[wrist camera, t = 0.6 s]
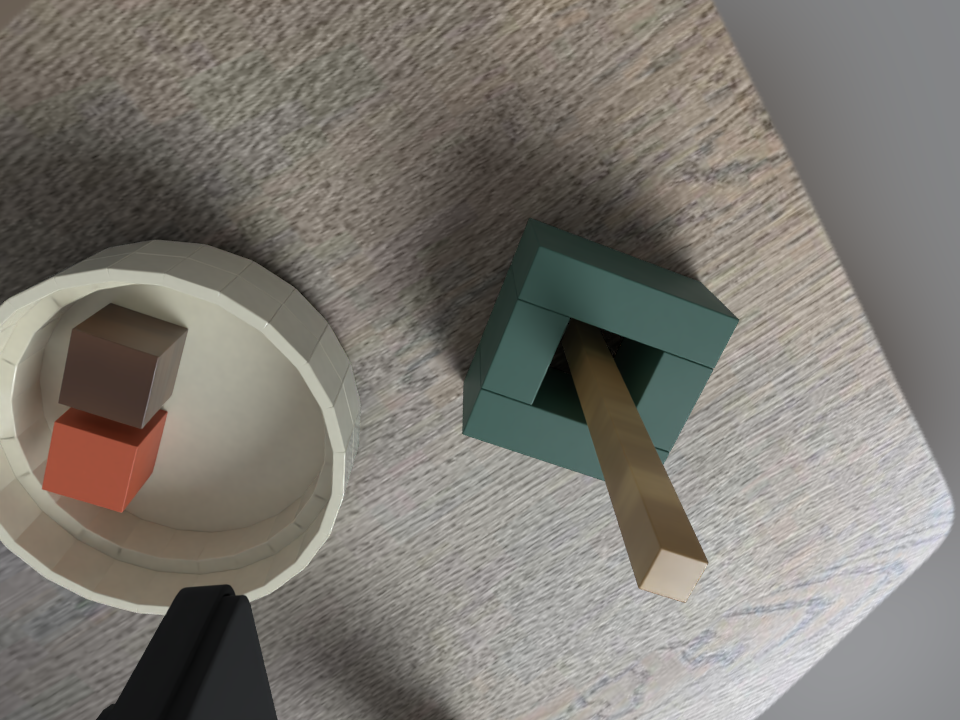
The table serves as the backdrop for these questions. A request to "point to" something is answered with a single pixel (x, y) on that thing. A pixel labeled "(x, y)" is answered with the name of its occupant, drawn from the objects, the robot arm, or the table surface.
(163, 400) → the block
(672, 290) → the holder
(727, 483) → the table surface
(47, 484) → the block
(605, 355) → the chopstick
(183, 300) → the bowl
